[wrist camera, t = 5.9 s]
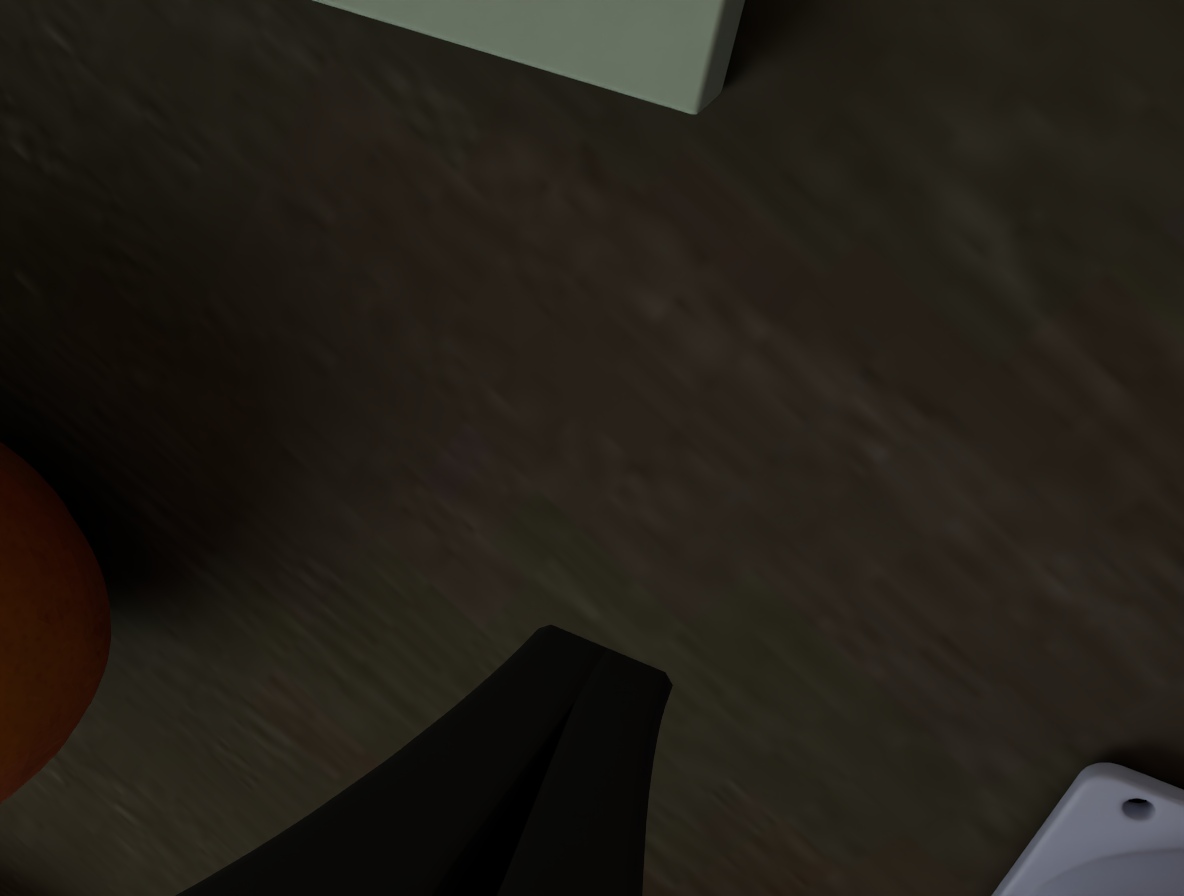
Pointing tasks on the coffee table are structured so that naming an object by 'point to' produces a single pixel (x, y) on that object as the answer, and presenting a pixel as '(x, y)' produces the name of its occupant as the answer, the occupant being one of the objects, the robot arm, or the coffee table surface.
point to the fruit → (44, 623)
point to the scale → (588, 39)
